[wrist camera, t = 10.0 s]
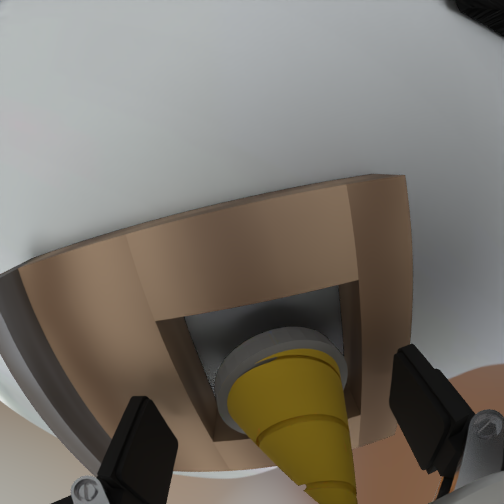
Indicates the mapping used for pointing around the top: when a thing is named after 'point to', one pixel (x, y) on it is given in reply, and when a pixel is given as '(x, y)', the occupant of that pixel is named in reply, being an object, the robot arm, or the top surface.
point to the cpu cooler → (485, 12)
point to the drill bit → (293, 407)
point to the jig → (208, 300)
